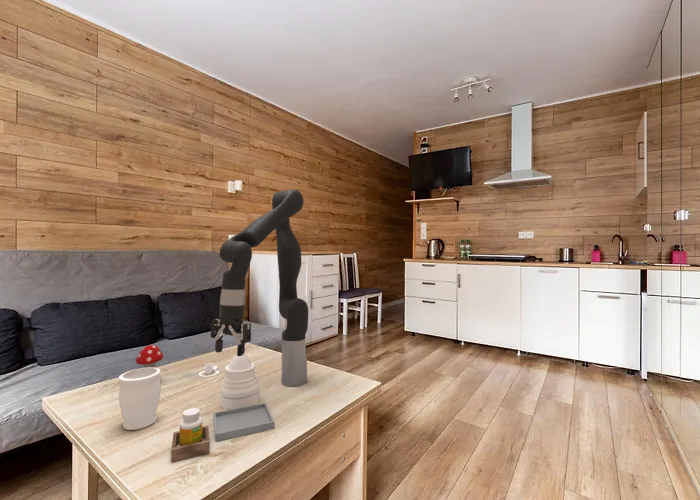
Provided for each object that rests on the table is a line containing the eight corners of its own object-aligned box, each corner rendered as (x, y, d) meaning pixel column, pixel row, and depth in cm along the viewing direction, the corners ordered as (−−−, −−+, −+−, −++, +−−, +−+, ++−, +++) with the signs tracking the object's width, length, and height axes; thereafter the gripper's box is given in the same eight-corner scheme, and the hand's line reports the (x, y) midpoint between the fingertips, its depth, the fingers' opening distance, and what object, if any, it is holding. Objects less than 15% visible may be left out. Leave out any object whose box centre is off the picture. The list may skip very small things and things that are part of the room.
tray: (266, 408, 108) (266, 402, 108) (274, 428, 96) (274, 421, 96) (213, 419, 101) (213, 412, 101) (215, 441, 90) (215, 434, 90)
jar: (129, 436, 92) (129, 383, 92) (112, 425, 97) (112, 375, 97) (167, 420, 101) (167, 371, 101) (149, 411, 106) (149, 364, 106)
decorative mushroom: (152, 390, 121) (152, 349, 121) (129, 389, 122) (129, 349, 122) (168, 379, 131) (168, 342, 131) (147, 379, 132) (147, 341, 132)
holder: (208, 435, 92) (208, 425, 92) (209, 453, 85) (209, 441, 85) (173, 443, 89) (173, 432, 89) (171, 462, 81) (171, 450, 81)
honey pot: (229, 392, 120) (229, 343, 120) (264, 393, 120) (264, 343, 120) (213, 409, 108) (213, 354, 108) (252, 410, 107) (252, 355, 107)
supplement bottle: (193, 456, 83) (193, 417, 83) (174, 453, 85) (174, 415, 84) (206, 443, 89) (206, 407, 89) (188, 441, 90) (189, 405, 90)
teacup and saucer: (213, 368, 145) (213, 359, 145) (224, 372, 140) (224, 363, 140) (194, 374, 137) (194, 365, 137) (205, 379, 133) (205, 369, 133)
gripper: (258, 303, 107) (255, 354, 106) (223, 300, 112) (220, 348, 112) (242, 306, 100) (239, 360, 99) (206, 302, 105) (203, 353, 105)
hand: (229, 353), depth 106 cm, fingers open, 8 cm apart
